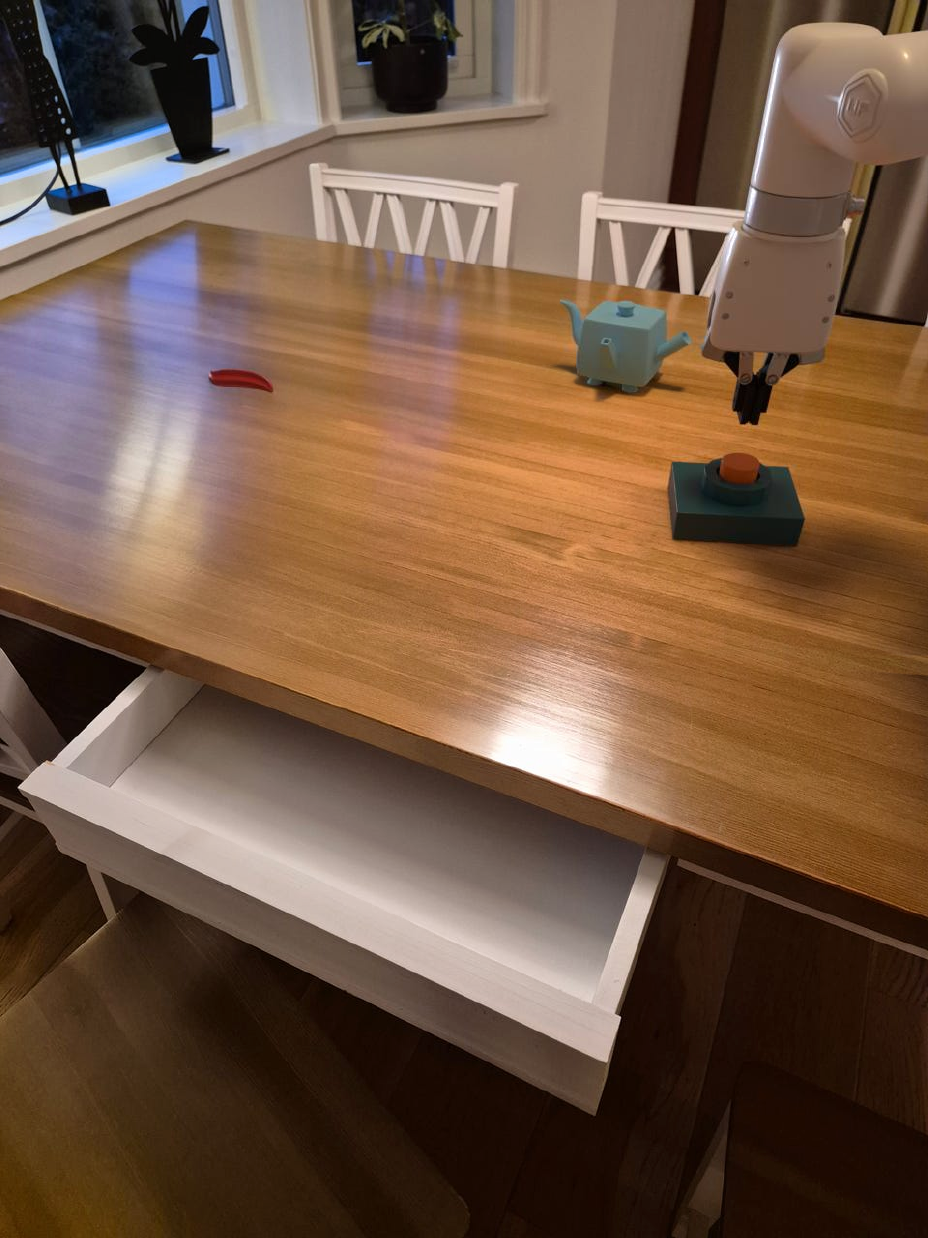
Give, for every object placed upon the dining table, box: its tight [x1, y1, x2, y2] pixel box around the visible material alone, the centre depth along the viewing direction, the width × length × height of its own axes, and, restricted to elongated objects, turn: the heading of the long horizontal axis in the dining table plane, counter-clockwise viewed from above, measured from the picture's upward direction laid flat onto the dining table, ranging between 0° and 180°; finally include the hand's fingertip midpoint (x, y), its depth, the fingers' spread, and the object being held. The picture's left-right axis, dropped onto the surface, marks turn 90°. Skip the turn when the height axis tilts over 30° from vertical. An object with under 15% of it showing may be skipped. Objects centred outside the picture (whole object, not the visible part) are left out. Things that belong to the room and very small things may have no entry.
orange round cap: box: [719, 452, 761, 484], centre depth 82 cm, size 4×4×2 cm
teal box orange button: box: [667, 457, 806, 547], centre depth 84 cm, size 12×10×5 cm
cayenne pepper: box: [208, 368, 274, 393], centre depth 113 cm, size 12×5×2 cm, turn 50°
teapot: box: [559, 299, 692, 393], centre depth 108 cm, size 18×14×10 cm
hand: (746, 417), depth 79 cm, fingers closed
